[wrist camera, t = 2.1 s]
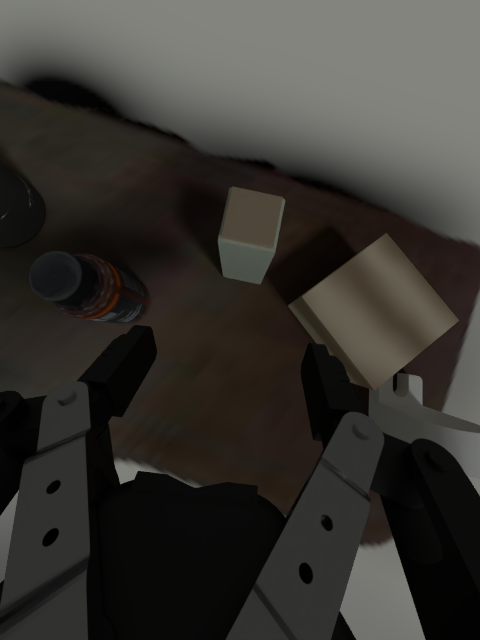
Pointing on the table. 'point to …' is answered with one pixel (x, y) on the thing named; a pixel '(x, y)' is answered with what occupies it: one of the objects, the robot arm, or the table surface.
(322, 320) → the beech block
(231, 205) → the sage canister
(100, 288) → the supplement bottle
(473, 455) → the cable organizer
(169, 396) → the table surface
